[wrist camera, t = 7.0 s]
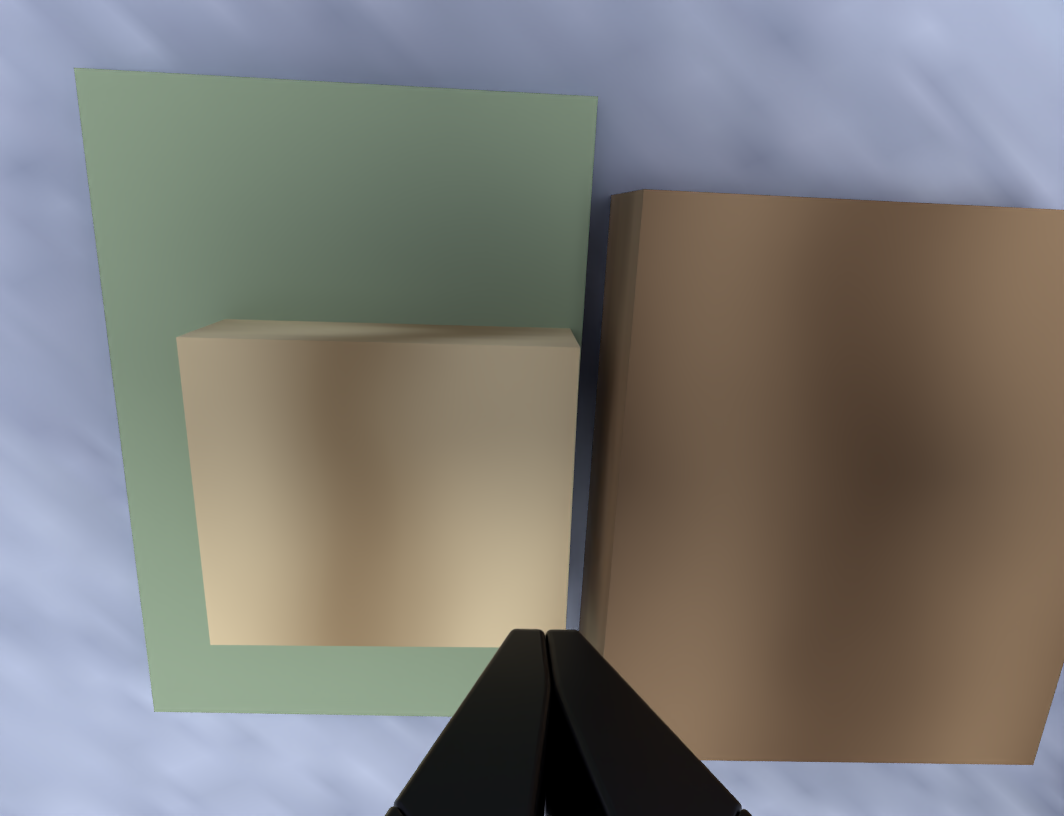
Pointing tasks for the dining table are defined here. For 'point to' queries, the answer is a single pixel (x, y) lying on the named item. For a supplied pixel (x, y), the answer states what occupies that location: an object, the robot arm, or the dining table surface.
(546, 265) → the mat
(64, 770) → the dining table surface
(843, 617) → the brown wooden block
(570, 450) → the birch tile
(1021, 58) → the dining table surface
